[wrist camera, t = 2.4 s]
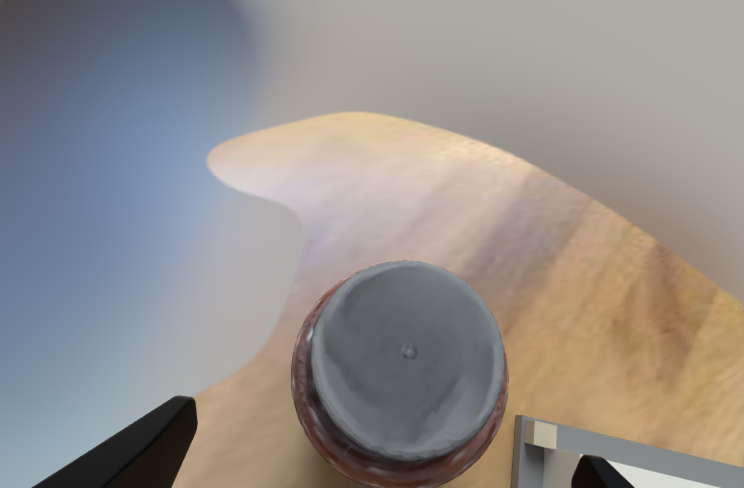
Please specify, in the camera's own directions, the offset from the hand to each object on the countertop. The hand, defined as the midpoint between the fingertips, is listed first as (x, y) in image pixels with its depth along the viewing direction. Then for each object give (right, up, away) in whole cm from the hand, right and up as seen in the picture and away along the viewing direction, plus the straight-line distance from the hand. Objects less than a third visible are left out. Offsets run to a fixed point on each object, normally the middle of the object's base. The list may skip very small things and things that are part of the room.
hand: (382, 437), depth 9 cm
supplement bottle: (+1, -2, +9) cm, 10 cm away
